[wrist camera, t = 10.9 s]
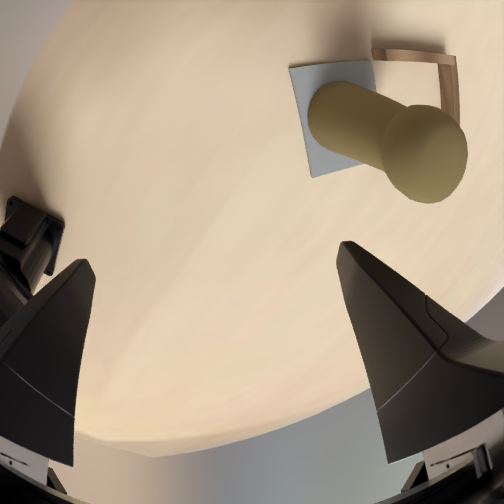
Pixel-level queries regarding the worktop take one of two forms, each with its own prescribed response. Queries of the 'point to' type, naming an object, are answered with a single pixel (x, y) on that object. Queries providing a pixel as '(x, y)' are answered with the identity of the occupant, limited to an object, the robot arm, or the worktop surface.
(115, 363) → the worktop surface
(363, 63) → the pad
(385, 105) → the cork
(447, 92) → the u-shaped wooden frame
